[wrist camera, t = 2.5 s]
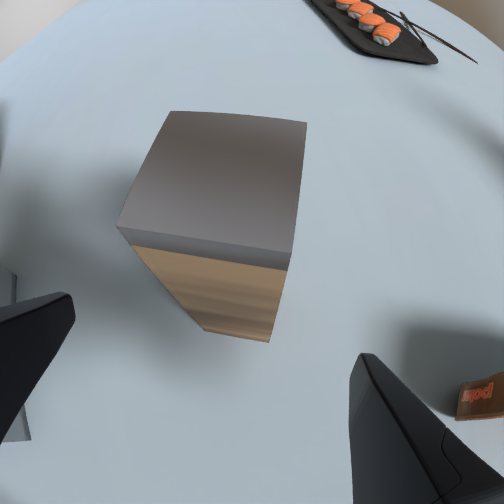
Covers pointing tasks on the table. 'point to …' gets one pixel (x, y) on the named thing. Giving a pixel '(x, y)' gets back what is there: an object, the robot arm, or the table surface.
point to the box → (4, 293)
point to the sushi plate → (378, 30)
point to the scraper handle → (219, 215)
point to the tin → (481, 399)
